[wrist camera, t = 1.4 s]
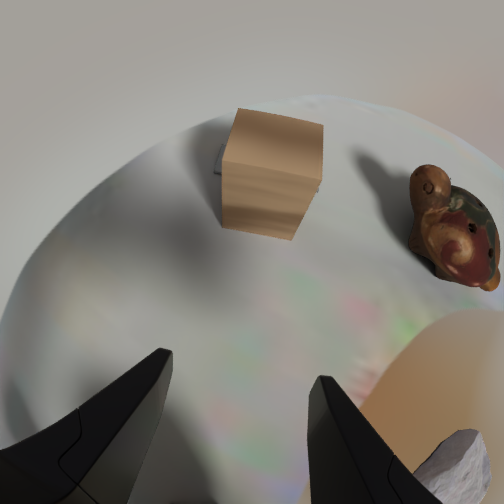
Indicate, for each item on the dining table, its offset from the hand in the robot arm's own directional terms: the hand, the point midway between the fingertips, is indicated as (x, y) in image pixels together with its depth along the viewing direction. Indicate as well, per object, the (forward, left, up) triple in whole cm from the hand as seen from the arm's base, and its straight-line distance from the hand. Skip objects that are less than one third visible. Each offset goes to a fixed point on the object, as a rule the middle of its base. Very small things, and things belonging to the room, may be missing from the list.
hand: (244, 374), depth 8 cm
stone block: (-12, -24, -14) cm, 31 cm away
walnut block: (+14, 0, -14) cm, 19 cm away
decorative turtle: (+14, -19, -14) cm, 27 cm away
